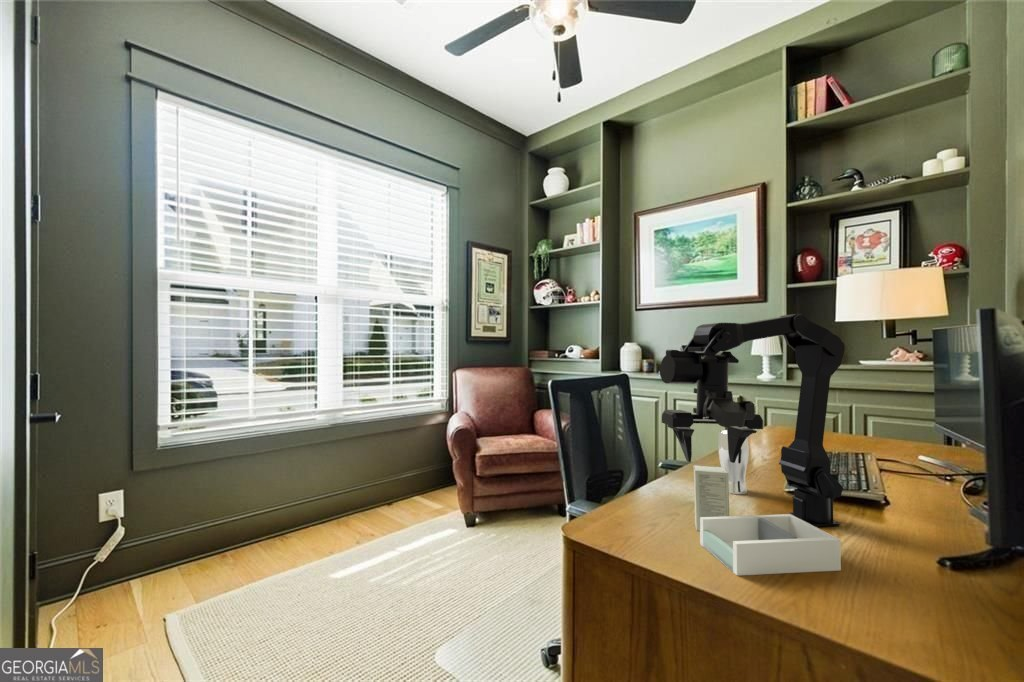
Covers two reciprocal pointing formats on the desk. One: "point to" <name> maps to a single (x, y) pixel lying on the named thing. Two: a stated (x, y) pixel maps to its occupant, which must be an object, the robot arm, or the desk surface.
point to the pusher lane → (769, 545)
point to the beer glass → (734, 464)
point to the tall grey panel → (771, 531)
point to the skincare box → (710, 492)
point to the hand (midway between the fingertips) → (710, 462)
